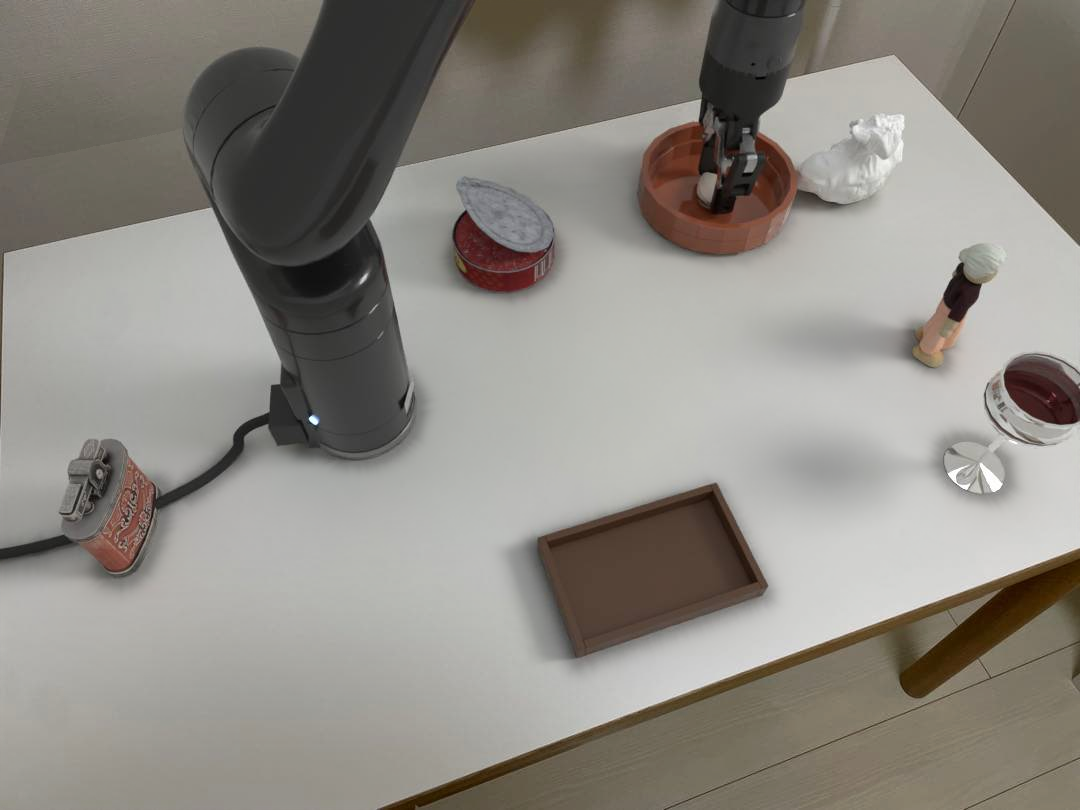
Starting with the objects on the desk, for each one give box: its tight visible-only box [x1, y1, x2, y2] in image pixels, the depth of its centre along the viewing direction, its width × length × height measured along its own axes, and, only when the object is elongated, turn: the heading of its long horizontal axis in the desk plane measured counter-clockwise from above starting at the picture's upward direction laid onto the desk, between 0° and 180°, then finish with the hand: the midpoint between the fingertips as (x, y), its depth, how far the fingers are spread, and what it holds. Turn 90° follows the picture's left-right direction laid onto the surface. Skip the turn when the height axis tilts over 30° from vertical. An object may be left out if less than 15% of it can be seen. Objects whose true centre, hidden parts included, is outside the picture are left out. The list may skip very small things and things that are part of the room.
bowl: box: [636, 121, 798, 255], centre depth 86 cm, size 15×15×4 cm
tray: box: [536, 482, 769, 659], centre depth 65 cm, size 15×9×2 cm, turn 109°
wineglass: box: [943, 350, 1080, 495], centre depth 66 cm, size 7×7×12 cm
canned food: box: [451, 176, 556, 294], centre depth 81 cm, size 11×10×10 cm
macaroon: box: [696, 172, 738, 209], centre depth 86 cm, size 4×5×2 cm
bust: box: [795, 112, 906, 205], centre depth 84 cm, size 12×8×11 cm
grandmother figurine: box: [911, 242, 1008, 368], centre depth 73 cm, size 8×4×13 cm, turn 168°
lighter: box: [57, 437, 162, 579], centre depth 63 cm, size 8×3×10 cm, turn 178°
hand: (714, 191), depth 86 cm, fingers closed on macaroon, 5 cm apart
